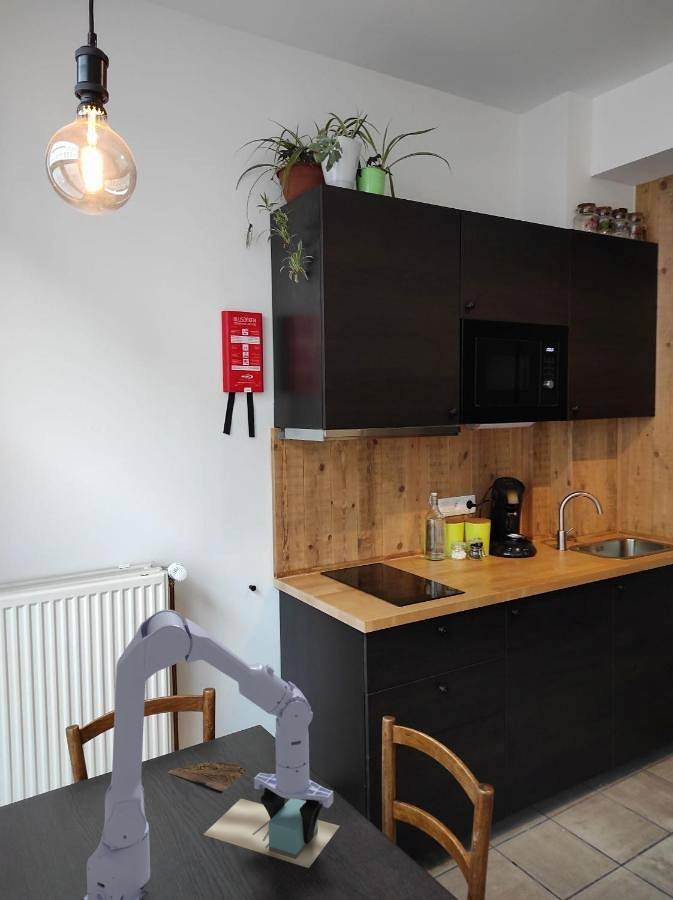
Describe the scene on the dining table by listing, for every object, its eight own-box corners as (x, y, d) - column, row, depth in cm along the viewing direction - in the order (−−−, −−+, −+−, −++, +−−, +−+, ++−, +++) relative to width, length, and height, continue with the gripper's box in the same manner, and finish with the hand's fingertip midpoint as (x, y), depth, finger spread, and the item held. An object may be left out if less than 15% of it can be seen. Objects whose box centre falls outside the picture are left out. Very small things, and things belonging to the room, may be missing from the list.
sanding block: (296, 859, 111) (295, 830, 111) (269, 850, 113) (268, 822, 113) (317, 831, 118) (317, 804, 118) (292, 824, 120) (291, 797, 120)
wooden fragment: (293, 775, 140) (293, 770, 140) (272, 804, 129) (272, 799, 129) (185, 757, 148) (184, 753, 148) (157, 784, 137) (156, 779, 137)
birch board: (308, 876, 109) (308, 867, 109) (203, 842, 118) (203, 834, 118) (339, 834, 120) (339, 825, 120) (241, 805, 129) (240, 798, 128)
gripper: (340, 757, 115) (341, 833, 116) (268, 740, 121) (269, 812, 122) (322, 777, 109) (323, 858, 110) (246, 759, 115) (248, 835, 116)
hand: (293, 835), depth 115 cm, fingers closed on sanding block, 5 cm apart
